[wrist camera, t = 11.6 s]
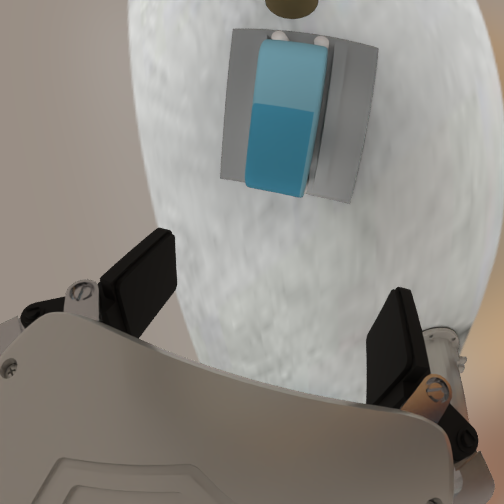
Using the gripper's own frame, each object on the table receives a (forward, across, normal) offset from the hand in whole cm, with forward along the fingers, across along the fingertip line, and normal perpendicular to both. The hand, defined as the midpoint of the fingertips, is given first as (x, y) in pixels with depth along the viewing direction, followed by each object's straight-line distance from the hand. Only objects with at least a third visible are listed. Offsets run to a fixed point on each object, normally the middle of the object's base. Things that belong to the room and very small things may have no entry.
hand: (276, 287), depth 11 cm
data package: (+22, +3, -6) cm, 23 cm away
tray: (+23, +3, -6) cm, 24 cm away
